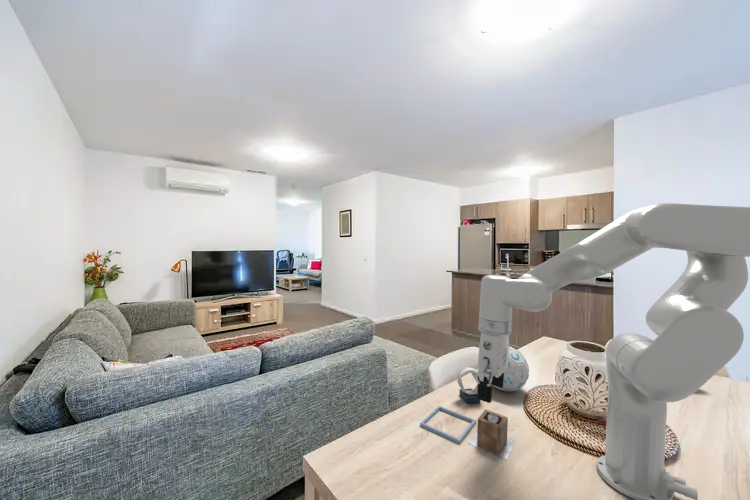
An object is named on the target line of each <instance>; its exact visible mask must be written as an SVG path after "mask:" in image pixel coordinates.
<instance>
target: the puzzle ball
mask: <svg viewBox="0 0 750 500" xmlns="http://www.w3.org/2000/svg"><path fill="white" fill-rule="evenodd" d="M486 371H488V370H486ZM488 372H491V371H488ZM529 374H530V367H529V365H528V361H527V359H526V358H525V356H524V355H523V354H522V352H520V351H519V350H518V349H516V348H514V347H512V346H510V345H509V364H508V367H507V369H506V370H505V371H504V382H503V387H502V388H500V387H497V386H494V385H492V387H494V388H496V389H498V391H499V390H500V391H503V392H516V391H518V390H520V389H521V388H523V387H524V386H525V385H526V383H527V381H528V380H529ZM485 377H487V379H489V376H488V375H485Z"/></svg>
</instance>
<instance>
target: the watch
mask: <svg viewBox="0 0 750 500" xmlns="http://www.w3.org/2000/svg"><path fill="white" fill-rule="evenodd" d="M469 372H470V373H471V375H472V376H473V379H474V380H475V381H476V383H477V384H476V385H475V387H474V388H465V387H464V384H463V380H462V379H463V376H465V374H467V373H469ZM456 380H457V383H458V384H457V385H458V386H459V388H460V389H459V397H461V399H462V400H463V401H464V402H465V403H466V405H474V404H475V405H476V404H477V405H478V404H481V400H479V399H478V398H477V389H478V369H476V368H473V367H471V366H469V367H467V366H466V367H463V369H461V370H460V371H459V373H458V374H457V379H456Z"/></svg>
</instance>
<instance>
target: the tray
mask: <svg viewBox="0 0 750 500" xmlns="http://www.w3.org/2000/svg"><path fill="white" fill-rule="evenodd" d="M439 411H442V412H444V413H445V414H449V415H452V416H454V417H456V418H458V419H462V420H464V421H467V422H469V425H468V426H467V427H466V428H465V430H464V431H463V432H462V434H461V435H460V436H459V437H457V436H454V435H451V434H449V433H447V432H445V431H443V430H441V429H438V428H435V427H433V426H432V425H429V424H427V423H428V422H429V421H430V420H431V419H432V418H433V417H434V416H435V415H436V414H438V412H439ZM476 424H477V419H474V418H472V417H469V416H467V415H464V414H462V413H459V412H458V411H457V412H456V411H454V410H451V409H449V408H445V407H444V406H441V405H438V406H437V407H436V408H435V409H434V410H433V411H432V412H431V413H429V414H428V415H427V416H426V417H425V418H424V419H423V420H421V422H420V423H419V427H421V428H423V429H426V430H428V431H429V432H432V433H435V434H436V435H439V436H440V437H443V438H445V439H447V440H450V441H451V442H454V443H457V444H458V445H461V444H462V442H463V441H464V440H465V438H466V437H467V435H468V434H469V433H470V431H471V430H472V429H473V428H474V427H475V425H476Z"/></svg>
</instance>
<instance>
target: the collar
mask: <svg viewBox="0 0 750 500" xmlns="http://www.w3.org/2000/svg"><path fill="white" fill-rule="evenodd" d="M488 414H495V415H496V416H498V424H495V423H493V422H490V421H488ZM508 419H509V418H508V416H505V415H502V414H500V413H497V412H493V411H491V410H489V409H487V408H485V409H484V410H483V412H482V413H481V414H480V415H479V416H478V418H477V430H476V431H477V443H479V444H481V445H484V446H486V447H488V448H491V449H493V450H495V451H497V452H500V453H501V451H502V449H503V447H504V446H505V444H506V442H507V437H508V427H509V426H508V425H509V424H508V422H509V421H508Z"/></svg>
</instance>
